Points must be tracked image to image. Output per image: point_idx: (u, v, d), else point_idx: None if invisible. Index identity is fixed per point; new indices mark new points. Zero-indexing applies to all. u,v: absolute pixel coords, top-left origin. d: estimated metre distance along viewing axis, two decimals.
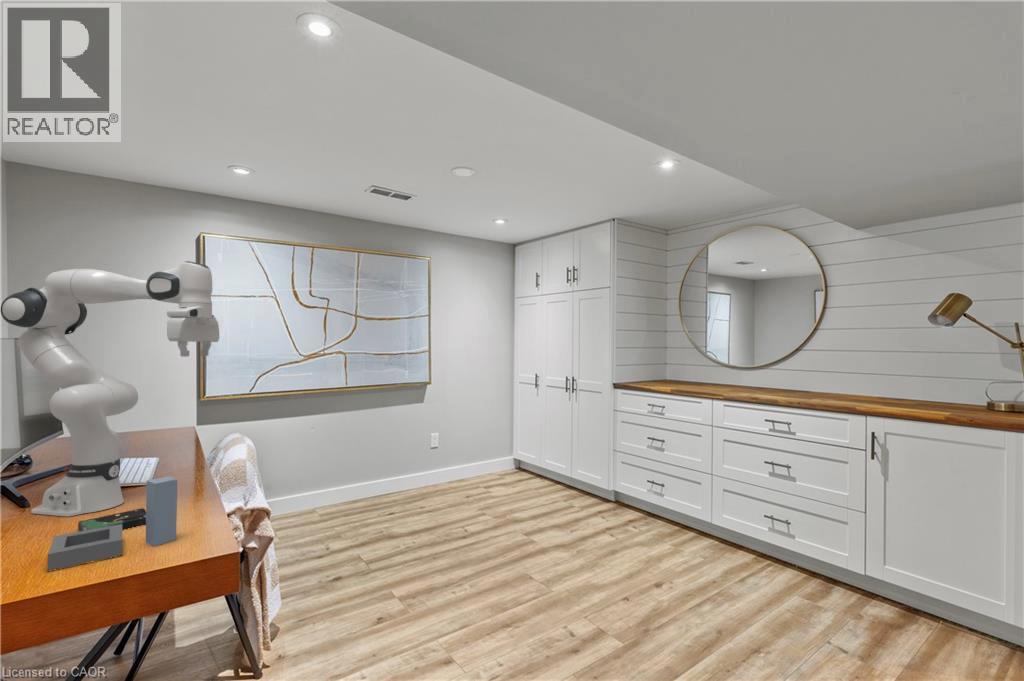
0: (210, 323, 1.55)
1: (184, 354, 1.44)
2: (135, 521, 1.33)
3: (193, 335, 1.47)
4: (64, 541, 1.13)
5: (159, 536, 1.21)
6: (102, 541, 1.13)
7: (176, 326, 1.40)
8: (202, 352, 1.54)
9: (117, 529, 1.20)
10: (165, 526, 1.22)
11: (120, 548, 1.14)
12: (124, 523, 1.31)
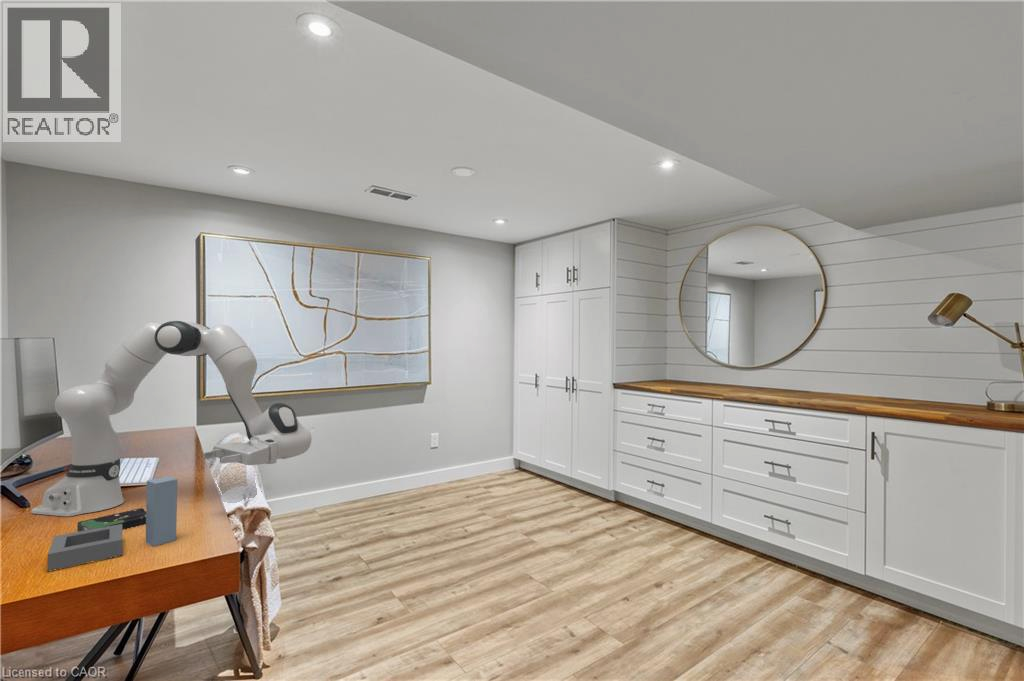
0: None
1: (224, 461, 1.31)
2: (136, 520, 1.33)
3: None
4: (64, 541, 1.13)
5: (159, 536, 1.21)
6: (102, 541, 1.13)
7: (263, 458, 1.36)
8: (209, 454, 1.37)
9: (117, 529, 1.20)
10: (165, 526, 1.22)
11: (120, 548, 1.14)
12: (125, 522, 1.31)
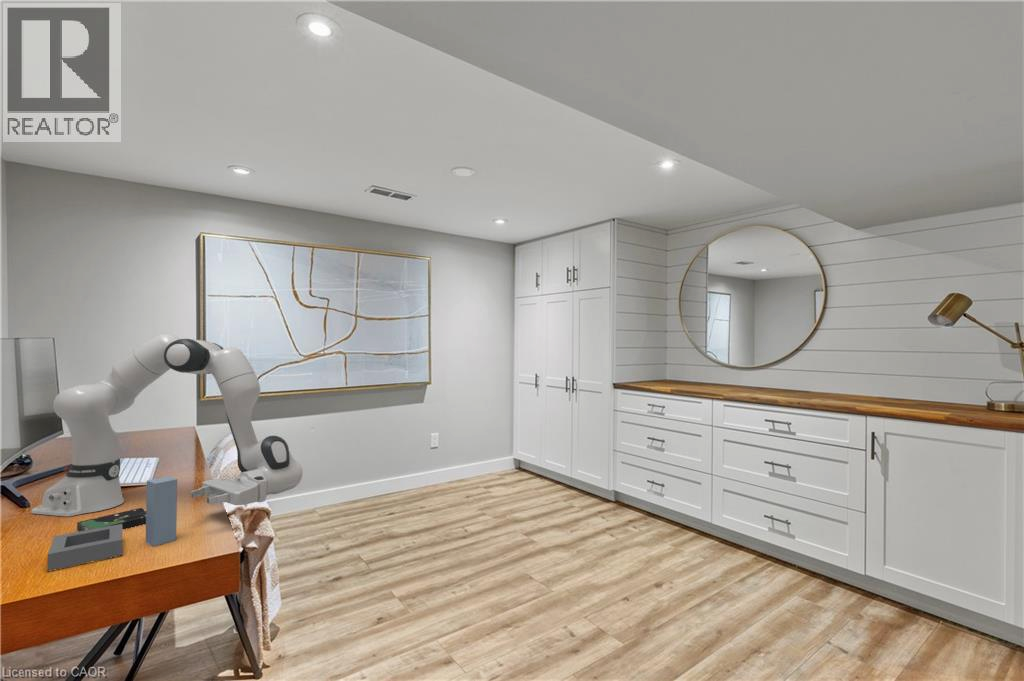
0: None
1: (212, 502, 1.29)
2: (137, 520, 1.33)
3: None
4: (64, 541, 1.13)
5: (159, 536, 1.21)
6: (102, 541, 1.13)
7: (251, 497, 1.34)
8: (197, 493, 1.34)
9: (117, 529, 1.20)
10: (165, 526, 1.22)
11: (120, 548, 1.14)
12: (126, 522, 1.31)
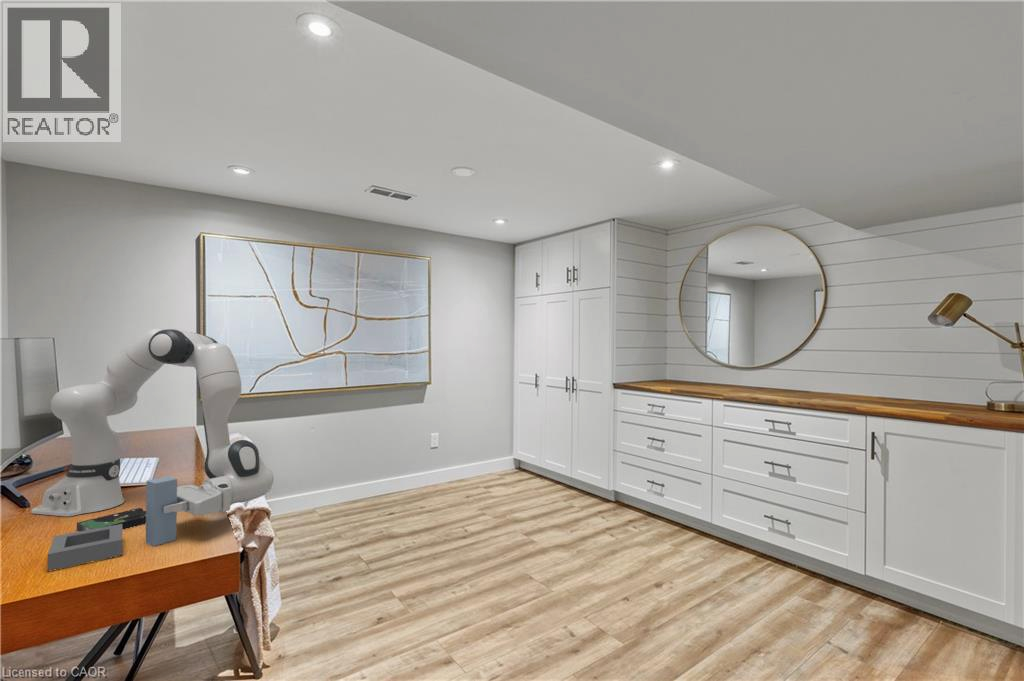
0: None
1: (167, 511, 1.21)
2: (137, 520, 1.34)
3: None
4: (64, 541, 1.13)
5: (159, 536, 1.21)
6: (102, 541, 1.13)
7: (213, 507, 1.25)
8: None
9: (117, 529, 1.20)
10: (165, 526, 1.22)
11: (120, 548, 1.14)
12: (127, 522, 1.32)
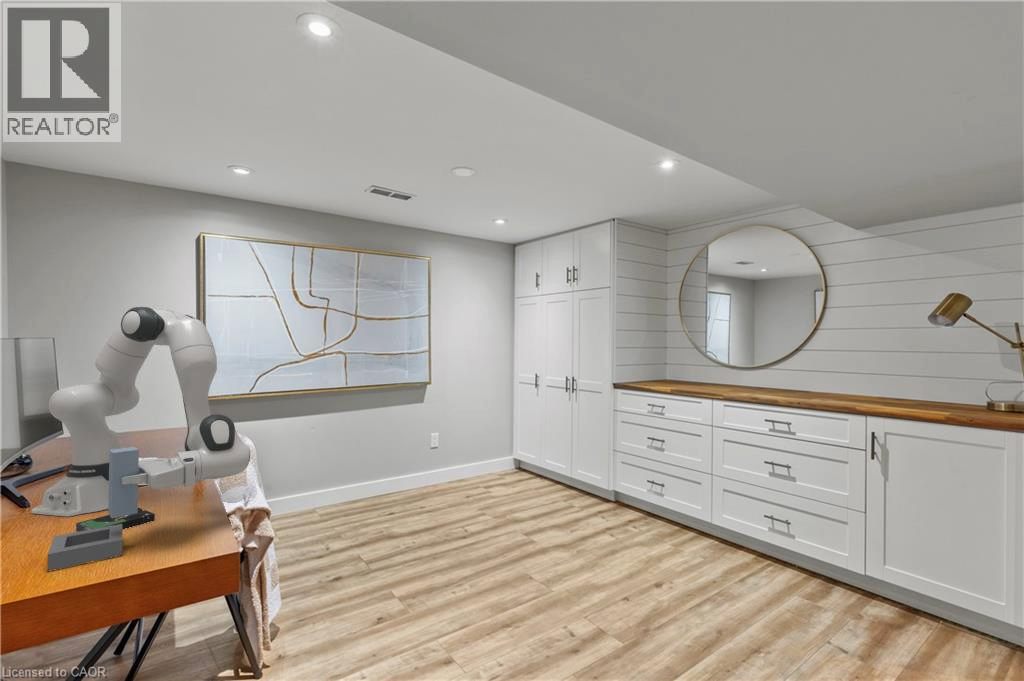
0: None
1: (125, 482, 1.16)
2: (138, 519, 1.34)
3: None
4: (64, 541, 1.13)
5: (118, 508, 1.16)
6: (102, 541, 1.13)
7: (172, 481, 1.18)
8: None
9: (117, 529, 1.20)
10: (125, 498, 1.17)
11: (120, 548, 1.14)
12: (127, 521, 1.32)
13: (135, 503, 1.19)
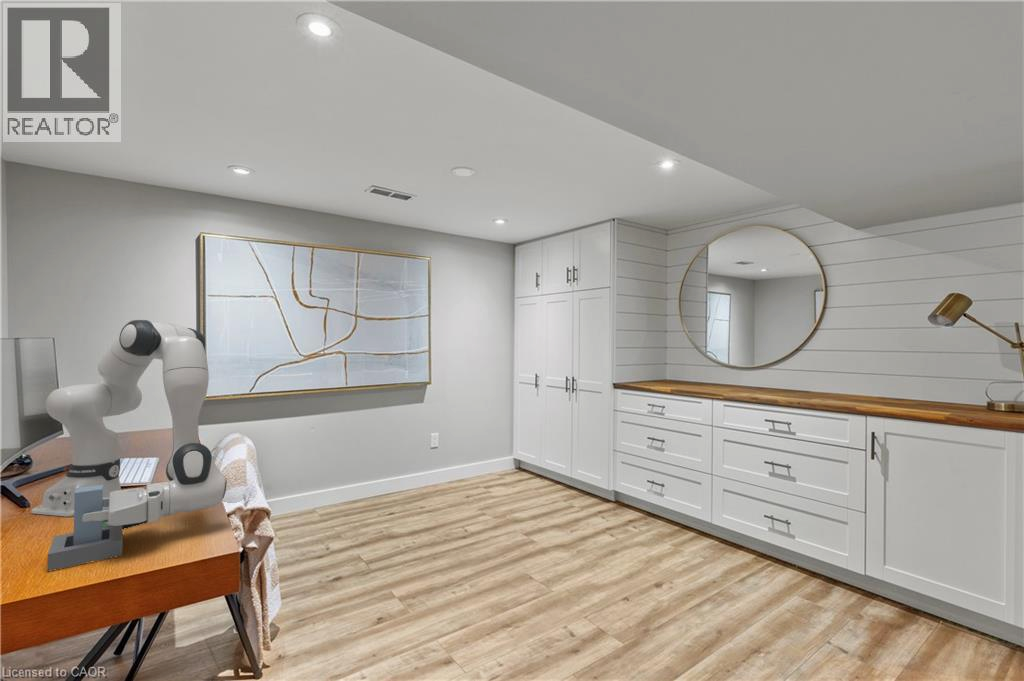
0: None
1: (86, 519, 1.11)
2: None
3: None
4: (64, 541, 1.13)
5: None
6: (102, 541, 1.13)
7: (132, 517, 1.13)
8: None
9: (117, 529, 1.20)
10: (87, 539, 1.13)
11: (120, 548, 1.14)
12: None
13: None
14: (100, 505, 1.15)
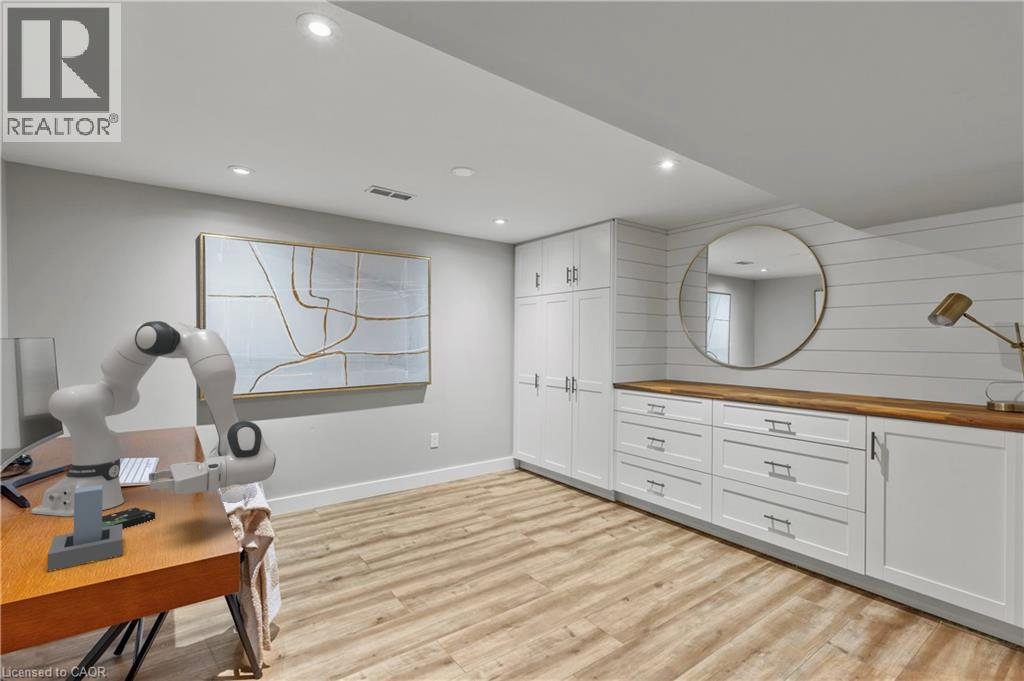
0: None
1: (154, 487, 1.20)
2: (139, 518, 1.35)
3: None
4: (64, 541, 1.13)
5: None
6: (102, 541, 1.13)
7: (195, 487, 1.22)
8: (154, 476, 1.27)
9: (117, 529, 1.20)
10: (87, 539, 1.13)
11: (120, 548, 1.14)
12: (129, 520, 1.33)
13: None
14: (100, 505, 1.15)
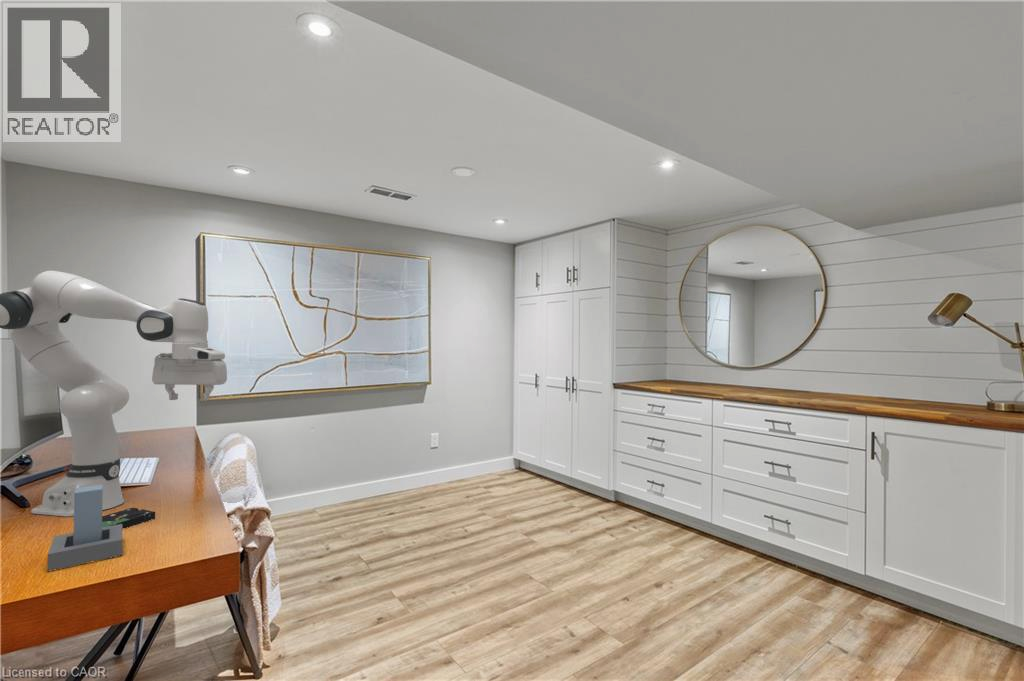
0: None
1: (208, 397, 1.40)
2: (140, 518, 1.35)
3: None
4: (64, 541, 1.13)
5: None
6: (102, 541, 1.13)
7: (224, 369, 1.41)
8: (175, 396, 1.40)
9: (117, 529, 1.20)
10: (87, 539, 1.13)
11: (120, 548, 1.14)
12: (130, 520, 1.33)
13: None
14: (100, 505, 1.15)
